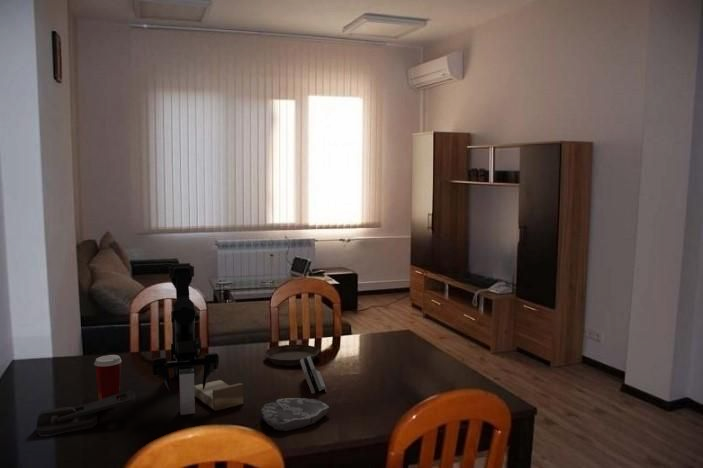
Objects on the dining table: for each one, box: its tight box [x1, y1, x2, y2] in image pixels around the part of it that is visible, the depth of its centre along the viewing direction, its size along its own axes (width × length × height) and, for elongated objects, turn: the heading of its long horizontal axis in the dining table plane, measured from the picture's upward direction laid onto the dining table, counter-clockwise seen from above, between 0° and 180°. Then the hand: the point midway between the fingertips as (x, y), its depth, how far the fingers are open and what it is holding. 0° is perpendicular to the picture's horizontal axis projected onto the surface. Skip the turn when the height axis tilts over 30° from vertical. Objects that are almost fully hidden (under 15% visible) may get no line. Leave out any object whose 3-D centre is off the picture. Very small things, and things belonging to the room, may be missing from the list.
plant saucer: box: [264, 343, 320, 367], centre depth 219 cm, size 21×21×3 cm
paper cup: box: [93, 354, 122, 402], centre depth 174 cm, size 8×8×14 cm
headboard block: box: [194, 379, 244, 411], centre depth 177 cm, size 16×9×6 cm, turn 38°
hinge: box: [300, 356, 328, 394], centre depth 191 cm, size 17×5×10 cm, turn 10°
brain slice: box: [260, 397, 330, 432], centre depth 163 cm, size 20×17×3 cm
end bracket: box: [178, 368, 196, 416], centre depth 166 cm, size 5×4×12 cm
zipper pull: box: [36, 389, 137, 436], centre depth 160 cm, size 9×7×25 cm
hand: (187, 390), depth 166 cm, fingers open, 9 cm apart
